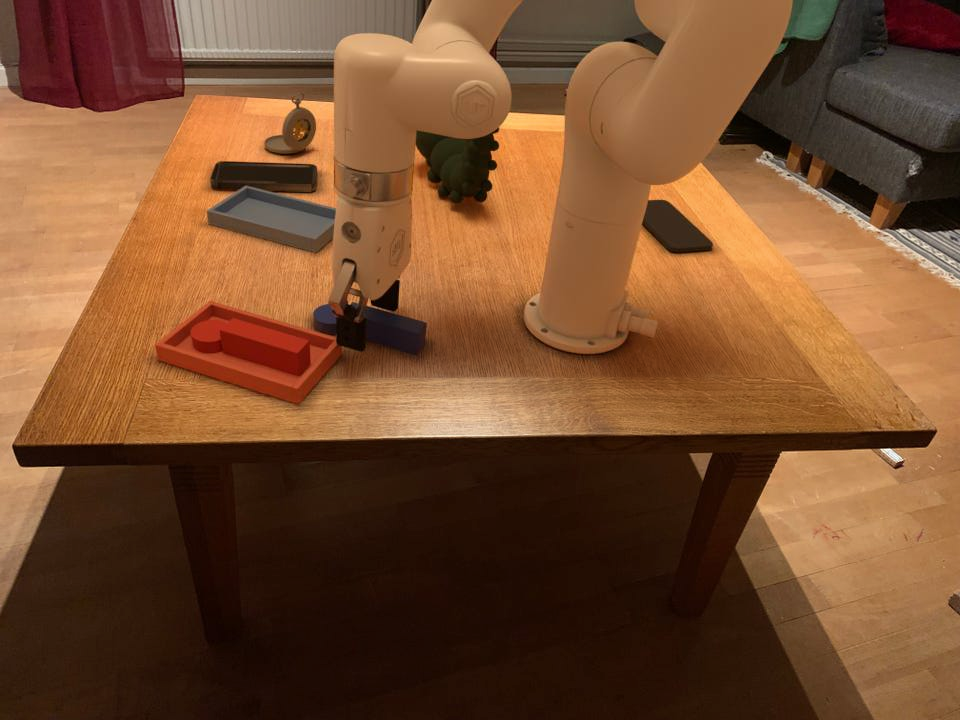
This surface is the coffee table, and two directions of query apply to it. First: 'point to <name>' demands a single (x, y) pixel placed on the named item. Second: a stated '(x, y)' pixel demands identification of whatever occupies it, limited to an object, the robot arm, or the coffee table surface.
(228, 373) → the red tray
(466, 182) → the toy figurine
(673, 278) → the coffee table surface
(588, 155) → the robot arm
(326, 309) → the blue spoon
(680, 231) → the phone
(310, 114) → the pocket watch
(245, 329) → the red spoon
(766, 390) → the coffee table surface
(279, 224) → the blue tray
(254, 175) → the phone
